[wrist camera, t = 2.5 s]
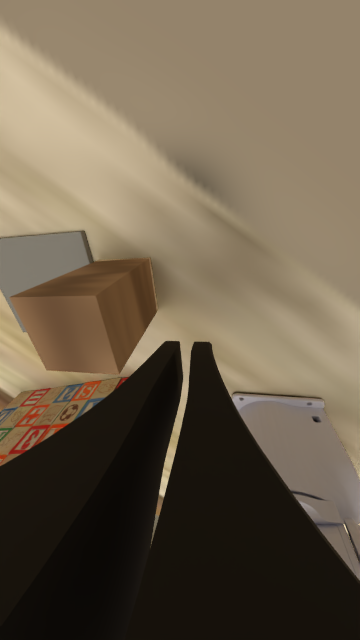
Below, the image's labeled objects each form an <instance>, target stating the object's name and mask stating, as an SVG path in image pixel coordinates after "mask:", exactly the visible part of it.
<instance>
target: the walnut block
mask: <svg viewBox="0 0 360 640" xmlns="http://www.w3.org/2000/svg"><path fill="white" fill-rule="evenodd" d="M9 298H10V300H11V302H12V304H13V306H14V308H15V310H16V312H17V314H18V316H19V318H20V320H21V322H22V324H23V325H24V327H25V329H26V331H27V333H28V335H29V337H30V339H31V341H32V343H33V345H34V347H35V349H36V351H37V353H38V355H39V356H40V358H41V360H42V362H43V364H44V366H45V368H46V370H51V371H68V372H85V373H102V374H120V372H121V371H122V369H123V367H124V366H125V364H126V362H127V361H128V359H129V357H130V356H131V354H132V352H133V351H134V349H135V347H136V346H137V344H138V342H139V341H140V339H141V337H142V336H143V334H144V332H145V331H146V329H147V327H148V326H149V324H150V322H151V321H152V319H153V317H154V316H155V314H156V312H157V311H158V306H157V299H156V292H155V285H154V278H153V272H152V265H151V258H132V259H114V260H98V261H95V262H93V263H90V264H88V265H86V266H83V267H81V268H78V269H76V270H74V271H71V272H69V273H66V274H64V275H62V276H59V277H57V278H54V279H52V280H50V281H47V282H45V283H42V284H40V285H37V286H35V287H33V288H30V289H28V290H25V291H23V292H21V293H18V294H16V295H13V296H11V297H9Z"/></svg>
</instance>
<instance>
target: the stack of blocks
mask: <svg viewBox="0 0 360 640" xmlns="http://www.w3.org/2000/svg"><path fill="white" fill-rule="evenodd" d="M128 378H129V377H127V378H115V379H109V380H103V381H95V382H88V383H84V384H77V385H70V386H64V387H58V388H48V389H41V390H33V391H26V392H21V393H20V394H19V395H18V396H17V397H16V398H15V399H14V400H13V401H12V402H10V403H9V404H8V405H7V406H6V407H5V408H4V410H2V411H1V412H0V466H1V465H3V464H5V463H6V462H8V461H10V460H12V459H13V458H15V457H17V456H19V455H20V454H22V453H24V452H25V451H27V450H29V449H30V448H32V447H34V446H35V445H37V444H38V443H40V442H42V441H43V440H45V439H47V438H48V437H50V436H51V435H53V434H54V433H56V432H57V431H59V430H60V429H62V428H63V427H65V426H66V425H68V424H69V423H71V422H72V421H74V420H75V419H77V418H78V417H80V416H81V415H83V414H84V413H85V412H87V411H88V410H89V409H91V408H92V407H93V406H95V405H96V404H97V403H99V402H100V401H101V400H103V399H104V398H105V397H107V396H108V395H109V394H110V393H111V392H113V391H114V390H115V389H116V388H117V387H118V386H120V385H121V384H122V383H123V382H124V381H125V380H126V379H128Z"/></svg>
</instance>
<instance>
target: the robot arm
mask: <svg viewBox="0 0 360 640" xmlns="http://www.w3.org/2000/svg"><path fill="white" fill-rule="evenodd" d="M182 383H183V370H182V360H181V351H180V341H165V342H164V343H163V344H162V345H161V346H160V347H159V348H158V349H157V350H156V351H155V352H154V353H153V354H152V355H151V356H150V357H149V358H148V359H147V360H146V361H145V362H144V363H143V364H142V365H141V366H140V367H139V368H138V369H137V370H136V371H135V372H134V373H133V374H132V375H131V376H130V377H129V378H128V379H126V380H125V381H124V382H123V383H122V384H121V385H120V386H118V387H117V388H116V389H115V390H114V391H113V392H111V393H110V394H109V395H108V396H107V397H105V398H104V399H103V400H101V401H100V402H99V403H97V404H96V405H95V406H93V407H92V408H91V409H89V410H88V411H87V412H85V413H84V414H83V415H81V416H80V417H78V418H77V419H75V420H74V421H72V422H71V423H69V424H68V425H66V426H65V427H63V428H62V429H60V430H59V431H57V432H56V433H54V434H53V435H51V436H50V437H48V438H47V439H45V440H43V441H42V442H40V443H38V444H37V445H35V446H34V447H32V448H30V449H29V450H27V451H25V452H24V453H22V454H20V455H19V456H17V457H15V458H13V459H12V460H10V461H8V462H6V463H5V464H3V465H1V466H0V640H360V526H359V525H358V524H359V523H360V480H359V477H358V475H357V472H356V470H355V467H354V465H353V463H352V461H351V460H350V458H349V456H348V454H347V452H346V450H345V448H344V446H343V445H342V443H341V441H340V439H339V437H338V435H337V433H336V432H335V430H334V428H333V426H332V424H331V422H330V420H329V418H328V417H327V415H326V413H325V411H324V409H323V408H324V406H325V403H324V401H323V400H322V399H314V398H299V397H285V396H270V395H255V394H241V393H235V394H233V396H232V399H231V397H230V395H229V393H228V391H227V389H226V387H225V385H224V382H223V380H222V378H221V375H220V373H219V370H218V368H217V365H216V362H215V359H214V356H213V351H212V344H211V343H210V342H194V344H193V347H192V350H191V360H190V375H189V390H188V398H187V404H186V408H185V413H184V418H183V422H182V427H181V431H180V436H179V440H178V444H177V448H176V453H175V457H174V461H173V465H172V469H171V473H170V477H169V481H168V484H167V488H166V492H165V496H164V500H163V504H162V508H161V512H160V515H159V519H158V523H157V526H156V530H155V533H154V537H153V541H152V544H151V539H152V533H153V526H154V520H155V514H156V508H157V502H158V496H159V490H160V484H161V478H162V472H163V467H164V462H165V458H166V453H167V449H168V445H169V442H170V438H171V434H172V430H173V426H174V422H175V418H176V415H177V411H178V407H179V403H180V398H181V391H182ZM343 524H345V525H346V528H347V531H348V533H349V536H350V540H351V542H350V540H349V537H348V535H347V532H346V530H345V528H344V525H343ZM351 543H352V544H351ZM150 546H151V548H150ZM352 546H353V547H352ZM353 548H354V549H353ZM354 551H355V552H354ZM356 556H357V557H356ZM358 561H359V562H358Z"/></svg>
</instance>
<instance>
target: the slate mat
mask: <svg viewBox="0 0 360 640" xmlns="http://www.w3.org/2000/svg"><path fill="white" fill-rule="evenodd" d="M90 263H93V260H92V256H91V253H90V249H89V246H88V242H87V238H86V235H85V231H79V232H68V233H56V234H44V235H33V236H21V237H10V238H0V289H1V291H2V293H3V295H4V297H5V299H6V301H7V302H8V304H9V306H10V308H11V310H12V312H13V314H14V316H15V318H16V319H17V321H18V323H19V325H20V327H21V329H22V331H23V332H27V331H26V329H25V327H24V325H23V324H22V322H21V320H20V318H19V316H18V314H17V312H16V310H15V308H14V306H13V304H12V302H11V300H10V298H9V297H11V296H13V295H16V294H18V293H21V292H23V291H25V290H28V289H30V288H33V287H35V286H37V285H40V284H42V283H45V282H47V281H50V280H52V279H54V278H57V277H59V276H62V275H64V274H66V273H69V272H71V271H74V270H76V269H78V268H81V267H83V266H86V265H88V264H90Z"/></svg>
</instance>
